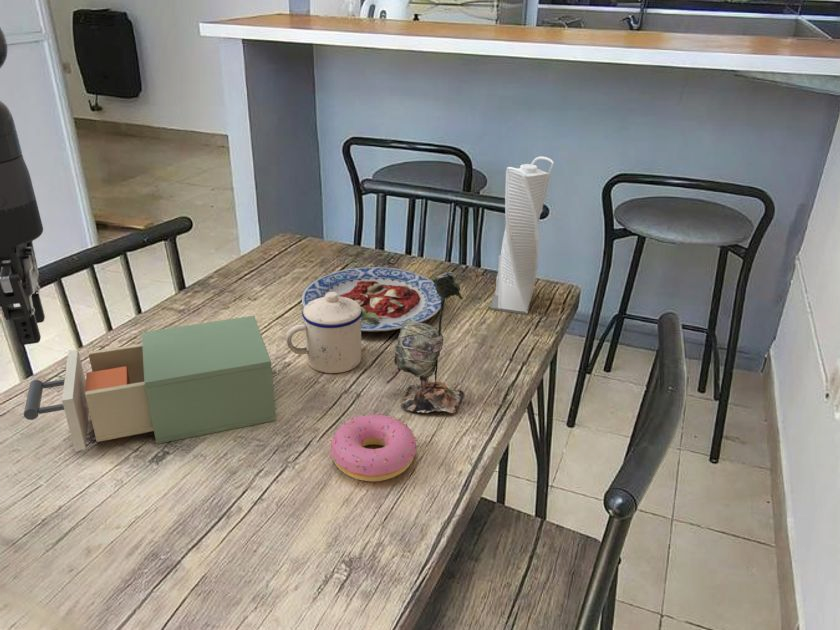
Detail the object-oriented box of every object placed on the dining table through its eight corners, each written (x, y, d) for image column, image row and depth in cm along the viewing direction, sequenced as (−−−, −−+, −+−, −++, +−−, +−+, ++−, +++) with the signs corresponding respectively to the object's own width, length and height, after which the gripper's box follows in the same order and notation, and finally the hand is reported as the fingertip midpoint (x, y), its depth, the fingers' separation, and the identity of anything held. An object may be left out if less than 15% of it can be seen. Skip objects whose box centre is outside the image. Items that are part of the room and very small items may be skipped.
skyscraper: (539, 299, 129) (556, 152, 116) (534, 318, 122) (552, 164, 109) (495, 293, 131) (507, 148, 118) (488, 312, 124) (500, 160, 111)
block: (92, 424, 89) (85, 392, 87) (93, 403, 93) (86, 372, 91) (133, 416, 91) (127, 385, 88) (133, 396, 95) (126, 365, 92)
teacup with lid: (351, 341, 114) (349, 277, 108) (371, 367, 106) (370, 301, 101) (280, 355, 109) (275, 289, 104) (296, 384, 102) (291, 315, 96)
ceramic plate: (347, 267, 140) (347, 254, 139) (464, 293, 131) (465, 279, 130) (273, 320, 119) (272, 305, 118) (405, 355, 110) (406, 339, 109)
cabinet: (156, 444, 89) (144, 382, 84) (152, 389, 100) (141, 331, 95) (276, 420, 94) (270, 361, 89) (259, 370, 105) (254, 315, 101)
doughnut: (326, 437, 91) (325, 412, 89) (406, 428, 93) (407, 402, 91) (336, 493, 81) (334, 466, 79) (425, 481, 84) (426, 454, 82)
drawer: (30, 460, 84) (14, 408, 80) (40, 405, 94) (26, 356, 91) (195, 428, 90) (187, 378, 87) (187, 379, 101) (180, 333, 97)
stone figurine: (403, 376, 104) (405, 256, 95) (471, 396, 100) (480, 272, 91) (377, 403, 98) (376, 277, 89) (449, 426, 94) (455, 295, 84)
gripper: (-31, 182, 80) (6, 311, 88) (-57, 222, 68) (-11, 366, 76) (40, 177, 83) (70, 302, 90) (27, 215, 71) (63, 355, 79)
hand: (33, 331), depth 83 cm, fingers open, 4 cm apart
